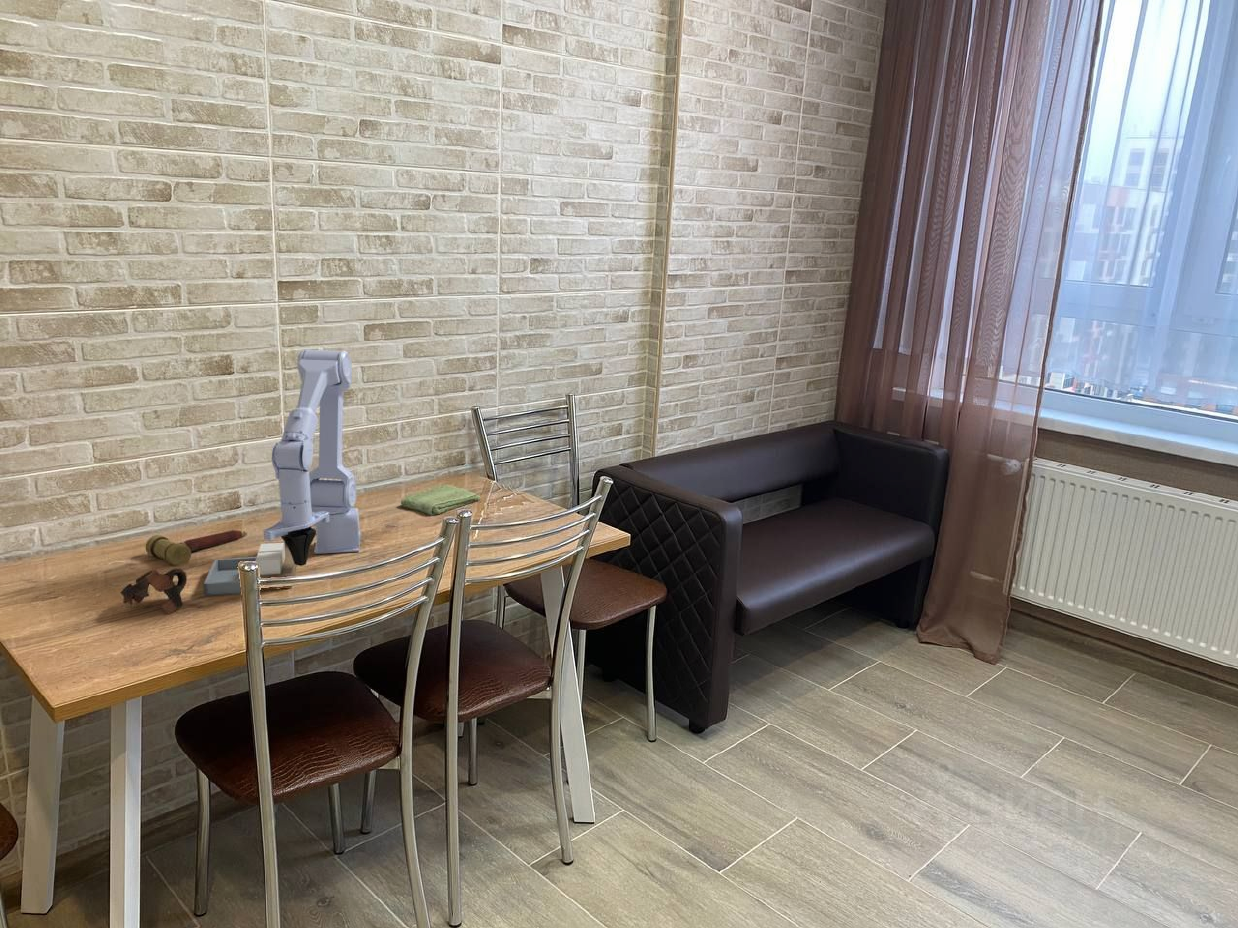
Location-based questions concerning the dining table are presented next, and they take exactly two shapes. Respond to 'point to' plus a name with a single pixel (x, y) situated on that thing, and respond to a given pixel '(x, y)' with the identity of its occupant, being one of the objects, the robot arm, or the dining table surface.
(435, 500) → the washcloth
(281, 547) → the tile
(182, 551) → the gavel
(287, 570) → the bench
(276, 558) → the white squarish block
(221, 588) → the tray
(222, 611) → the dining table surface
